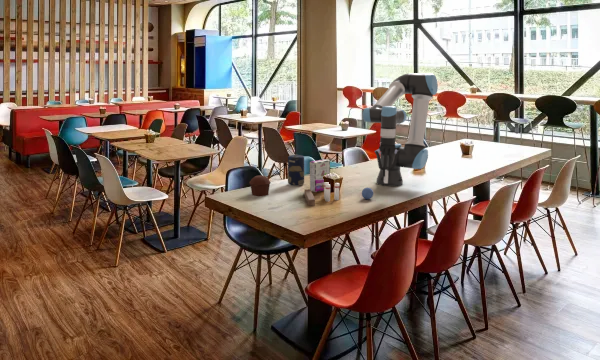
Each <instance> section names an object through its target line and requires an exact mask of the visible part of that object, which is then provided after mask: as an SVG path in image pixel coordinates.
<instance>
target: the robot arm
mask: <svg viewBox="0 0 600 360" xmlns="http://www.w3.org/2000/svg"><path fill="white" fill-rule="evenodd" d="M438 88H439V87H438V79H437V76H436V75H435V74H434V73H427V72H425V73H424V72H423V73H421V72H420V73H416V72H415V73H412V72H410V73H405V74H402V75H400V76H398V77H396V78H395V79H394V80H393V81H392V82H391V83H390V84H389V85H388V89H387V90H386V91H385V92H384V93H383V94H382V96H381V97H380V98H379V99H378V100H377V101H376V103H374V105H373V106H372V107H366V108H364V109H363V111H362V120H363V121H364V122H366V123H375V124H378V123H379V124H380V135H379V136H380V139H379V146H378V149H376V150H374V151H373V152H374V153H375V155H376V160H377V164H378V165H377V166H378V168H379V172H378V175H377V177H376V184H377V183H378V184H377V185H379V184H381V185H380V186H384V185H399V186H402V185H403V181H404V180H403V175H402V172H401V168H403V169H404V168H405V169H413V170H415V169H417V170H421V169H423V168H424V167H425V166H426V164H427V161H428V158H429V151H428V149H427V148H426V145H425V143H424V141H425V140H424V139H425V133H426V127H427V119H428V112H429V106H430V101H431V100H432V99H433V98H434V97H433V96H435V95H436V94H437V92H438V90H439V89H438ZM406 94H409V95H411V98H413V101H412V102H413V103H412V109H411V117H410V124H409V132H408V136H407V137H408V138H407V141H406V142H404V146H403V145H402V143H396V132H397V125H400V124H403V123H404V122H405V121H406V120H407V113H406V111H405V110H404V109H401V108H397V106H394V104H395V103H396V101H397V100H398V99H399V98H401V97H403V95H406ZM401 184H402V185H401Z"/></svg>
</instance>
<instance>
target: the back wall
mask: <svg viewBox="0 0 600 360" xmlns="http://www.w3.org/2000/svg"><path fill="white" fill-rule="evenodd" d="M304 197H305V200H306V203H307V205H308V206H309V207H310V206H316V199H315V196H314V194H313V191H311V190H310V188H309V189H307V188H306V189H304Z"/></svg>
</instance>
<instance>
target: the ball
mask: <svg viewBox="0 0 600 360" xmlns="http://www.w3.org/2000/svg"><path fill="white" fill-rule="evenodd" d="M361 196H362V198H363V199H365V200H370V199H372V198H373V196H374V190H373V189H372V188H371V187H365V188H363V189H362V191H361Z"/></svg>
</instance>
